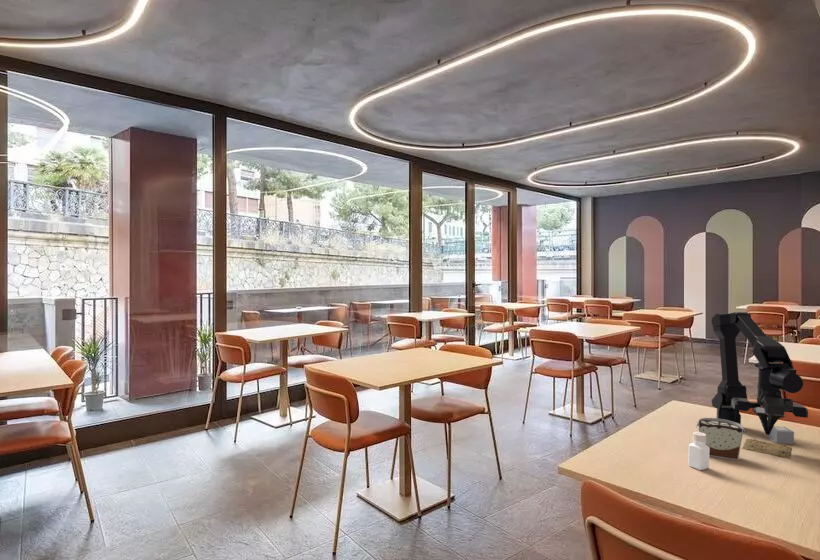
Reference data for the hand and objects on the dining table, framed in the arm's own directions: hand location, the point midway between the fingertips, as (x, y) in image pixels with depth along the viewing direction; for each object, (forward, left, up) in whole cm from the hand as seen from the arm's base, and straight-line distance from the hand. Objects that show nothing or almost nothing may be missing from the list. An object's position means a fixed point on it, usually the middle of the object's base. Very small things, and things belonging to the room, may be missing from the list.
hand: (767, 434), depth 155 cm
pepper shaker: (-22, -26, -4) cm, 34 cm away
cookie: (0, 0, -5) cm, 5 cm away
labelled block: (+6, +10, -4) cm, 12 cm away
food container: (-15, -12, -4) cm, 20 cm away
